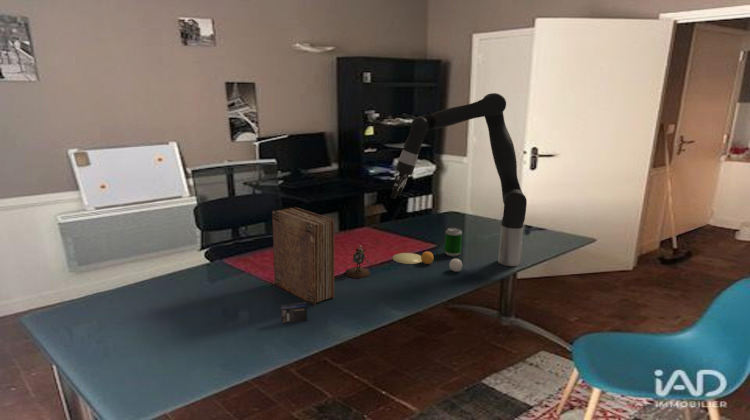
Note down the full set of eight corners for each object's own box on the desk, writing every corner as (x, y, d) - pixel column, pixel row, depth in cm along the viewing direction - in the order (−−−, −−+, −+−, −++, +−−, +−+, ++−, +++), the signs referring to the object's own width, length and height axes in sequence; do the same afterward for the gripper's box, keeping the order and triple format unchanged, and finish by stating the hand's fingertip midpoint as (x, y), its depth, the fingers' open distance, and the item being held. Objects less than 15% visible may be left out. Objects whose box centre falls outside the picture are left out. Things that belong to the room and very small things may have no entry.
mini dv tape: (281, 323, 159) (281, 306, 157) (281, 321, 160) (280, 304, 159) (307, 320, 161) (306, 304, 160) (306, 318, 162) (306, 302, 161)
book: (334, 298, 178) (334, 219, 170) (314, 306, 172) (313, 224, 164) (294, 278, 195) (292, 205, 188) (274, 284, 189) (272, 209, 182)
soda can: (461, 257, 224) (463, 232, 221) (445, 256, 224) (446, 231, 221) (459, 251, 231) (461, 227, 228) (443, 251, 231) (444, 227, 228)
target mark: (412, 251, 230) (412, 251, 230) (429, 261, 218) (429, 260, 218) (386, 255, 223) (386, 255, 223) (402, 265, 211) (402, 265, 211)
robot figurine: (353, 280, 195) (353, 252, 192) (339, 273, 202) (340, 246, 199) (374, 274, 202) (375, 246, 199) (361, 267, 208) (361, 241, 205)
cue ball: (456, 268, 210) (457, 256, 209) (464, 272, 206) (465, 260, 204) (446, 270, 208) (447, 257, 207) (454, 274, 203) (455, 262, 202)
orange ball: (428, 260, 219) (429, 249, 217) (435, 264, 214) (436, 252, 212) (418, 262, 216) (418, 250, 215) (425, 266, 211) (425, 254, 210)
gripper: (411, 166, 202) (399, 202, 206) (418, 164, 215) (406, 198, 219) (395, 159, 203) (382, 195, 207) (402, 158, 217) (391, 192, 221)
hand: (395, 197), depth 213 cm, fingers open, 8 cm apart
